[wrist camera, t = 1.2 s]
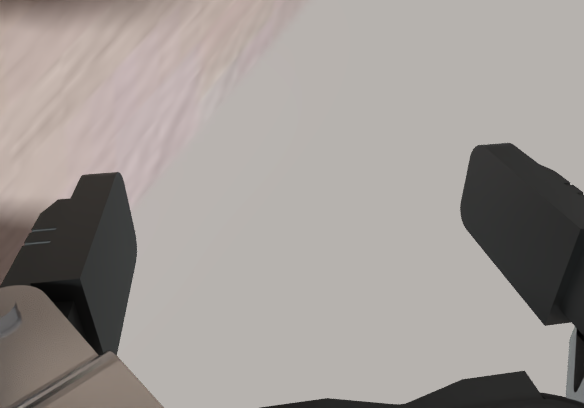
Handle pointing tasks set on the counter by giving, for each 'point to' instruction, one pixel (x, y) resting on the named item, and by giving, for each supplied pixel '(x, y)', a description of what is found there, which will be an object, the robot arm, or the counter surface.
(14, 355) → the robot arm
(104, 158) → the counter surface
